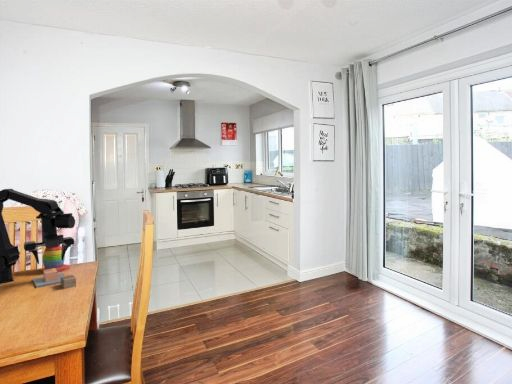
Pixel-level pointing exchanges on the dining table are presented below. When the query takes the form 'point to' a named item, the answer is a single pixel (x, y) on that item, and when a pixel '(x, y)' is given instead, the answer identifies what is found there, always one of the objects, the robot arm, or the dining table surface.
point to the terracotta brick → (50, 274)
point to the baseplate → (41, 282)
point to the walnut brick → (68, 281)
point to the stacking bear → (54, 259)
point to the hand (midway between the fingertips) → (50, 262)
